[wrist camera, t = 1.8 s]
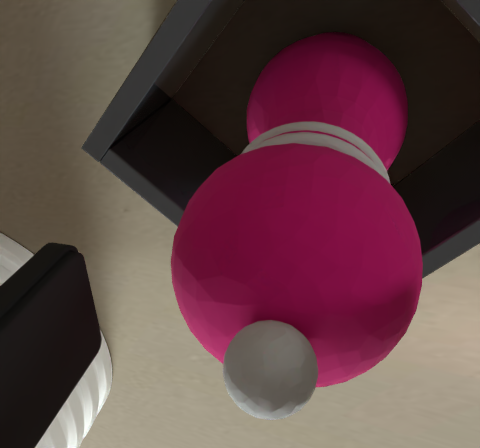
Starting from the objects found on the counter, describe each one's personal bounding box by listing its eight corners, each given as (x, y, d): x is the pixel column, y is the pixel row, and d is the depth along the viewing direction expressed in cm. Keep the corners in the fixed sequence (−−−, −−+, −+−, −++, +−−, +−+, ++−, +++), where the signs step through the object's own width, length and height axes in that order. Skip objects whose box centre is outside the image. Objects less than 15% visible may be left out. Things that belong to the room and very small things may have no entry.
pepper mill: (260, 25, 23) (7, 218, 7) (407, 15, 22) (558, 240, 5) (268, 155, 27) (118, 488, 10) (395, 155, 25) (458, 556, 9)
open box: (333, -160, 19) (318, -219, 12) (553, 86, 22) (637, 147, 15) (150, 98, 27) (80, 148, 20) (328, 254, 30) (319, 342, 23)
